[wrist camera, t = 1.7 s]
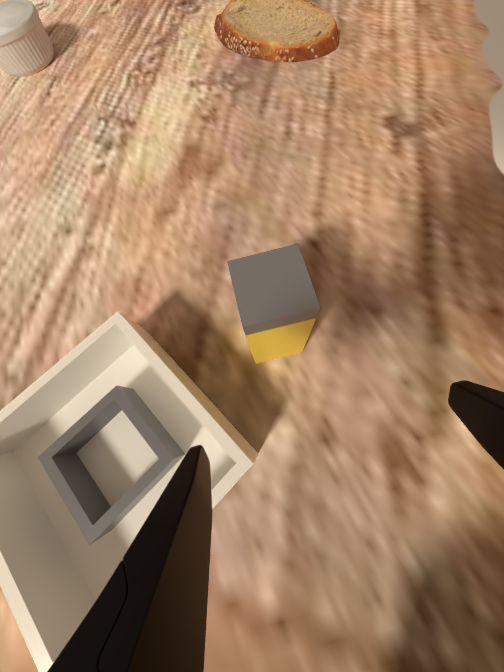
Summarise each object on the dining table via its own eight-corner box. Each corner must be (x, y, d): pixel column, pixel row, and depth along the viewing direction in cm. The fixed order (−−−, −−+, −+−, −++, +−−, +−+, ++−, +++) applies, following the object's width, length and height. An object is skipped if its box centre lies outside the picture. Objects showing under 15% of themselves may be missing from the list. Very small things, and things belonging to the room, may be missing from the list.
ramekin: (-6, 87, 43) (-43, 43, 38) (6, 51, 46) (-26, 6, 41) (56, 75, 42) (27, 28, 37) (64, 39, 46) (38, -8, 41)
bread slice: (344, 54, 37) (351, 16, 34) (228, 82, 38) (223, 47, 34) (312, -3, 43) (315, -40, 40) (212, 22, 44) (206, -13, 40)
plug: (302, 352, 23) (320, 307, 14) (255, 363, 23) (242, 327, 14) (289, 310, 25) (297, 243, 15) (245, 321, 25) (227, 261, 15)
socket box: (258, 453, 21) (253, 463, 16) (106, 620, 18) (47, 691, 14) (147, 330, 25) (117, 310, 21) (12, 450, 23) (-57, 459, 18)
